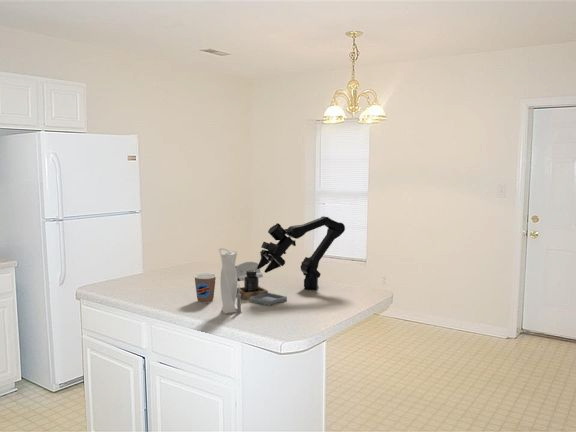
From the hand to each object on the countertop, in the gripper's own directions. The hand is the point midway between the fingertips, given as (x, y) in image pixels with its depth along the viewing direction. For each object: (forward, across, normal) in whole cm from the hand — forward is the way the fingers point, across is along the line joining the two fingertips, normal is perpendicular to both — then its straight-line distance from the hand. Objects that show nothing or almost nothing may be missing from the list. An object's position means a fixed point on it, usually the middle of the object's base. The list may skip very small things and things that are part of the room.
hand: (261, 270), depth 248 cm
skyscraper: (+26, +22, -8) cm, 35 cm away
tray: (+10, +13, +7) cm, 18 cm away
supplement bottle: (+12, 0, +5) cm, 13 cm away
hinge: (+3, -38, +14) cm, 41 cm away
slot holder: (+12, 0, +5) cm, 13 cm away
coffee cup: (+29, +1, -12) cm, 31 cm away
